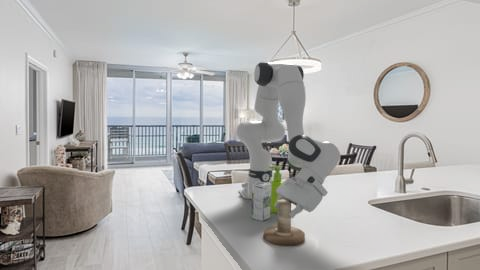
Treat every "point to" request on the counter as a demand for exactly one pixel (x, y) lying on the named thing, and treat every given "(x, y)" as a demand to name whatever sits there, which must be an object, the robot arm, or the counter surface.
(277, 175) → the soap dispenser
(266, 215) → the syrup box
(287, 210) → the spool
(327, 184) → the counter surface
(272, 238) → the base
